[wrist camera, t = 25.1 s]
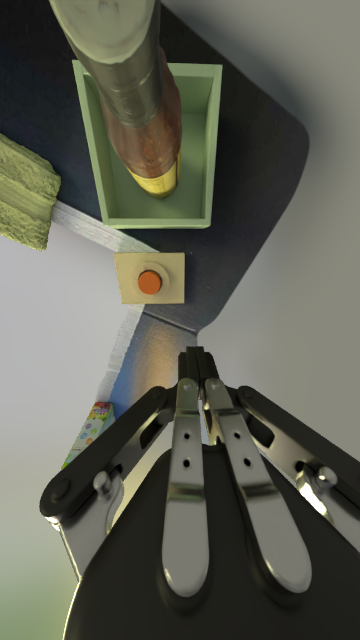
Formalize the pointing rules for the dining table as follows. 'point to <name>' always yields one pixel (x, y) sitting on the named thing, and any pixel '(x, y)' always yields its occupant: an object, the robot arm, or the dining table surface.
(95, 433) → the snack box
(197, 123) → the sage green tray
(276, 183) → the dining table surface
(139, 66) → the sauce bottle
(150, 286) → the button
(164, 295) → the panel
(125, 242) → the dining table surface
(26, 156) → the washcloth
